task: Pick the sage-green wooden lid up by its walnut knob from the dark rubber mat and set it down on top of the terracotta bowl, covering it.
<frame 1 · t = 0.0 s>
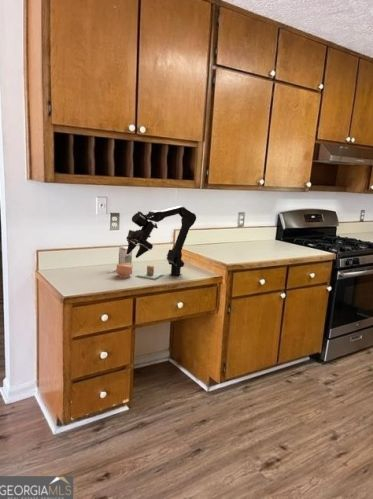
hand: (131, 255, 204), 15 cm above the table, tool tilted 35°, fingers open, 9 cm apart
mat: (150, 276, 220), on the table
syrup box: (124, 270, 231), on the table
bowl: (124, 277, 216), on the table
lid: (150, 276, 219), point 1 cm above the table, touching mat
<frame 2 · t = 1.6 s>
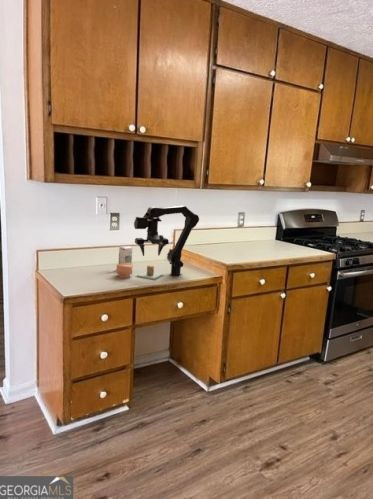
hand: (151, 255, 217), 13 cm above the table, tool pointing down, fingers open, 9 cm apart
nothing on the table moved.
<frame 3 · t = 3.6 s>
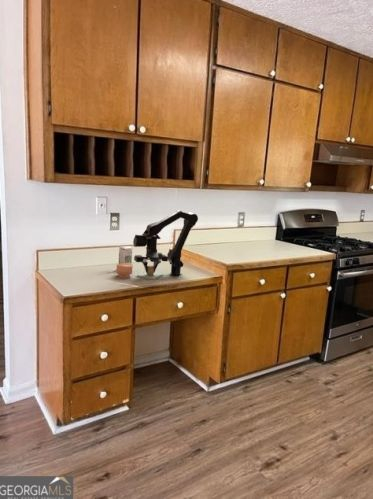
hand: (150, 272, 219), 3 cm above the table, tool pointing down, fingers closed on lid, 4 cm apart
lid: (150, 276, 219), point 1 cm above the table, touching gripper, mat
everything else where it was.
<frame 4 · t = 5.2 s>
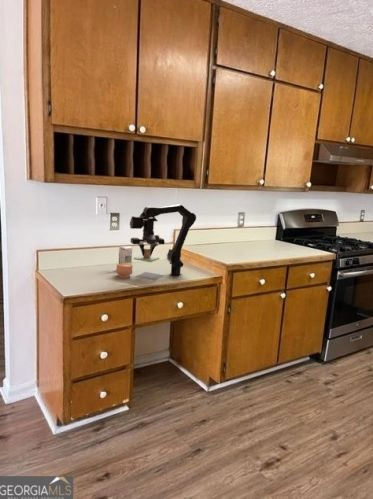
hand: (146, 255, 216), 13 cm above the table, tool pointing down, fingers closed on lid, 4 cm apart
lid: (146, 259, 217), point 11 cm above the table, touching gripper
everything else where it was.
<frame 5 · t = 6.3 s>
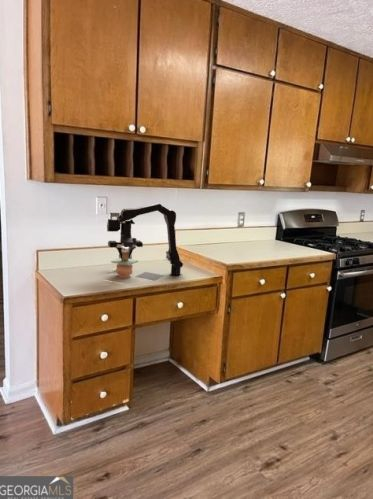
hand: (124, 258, 213), 11 cm above the table, tool pointing down, fingers closed on lid, 4 cm apart
lid: (124, 262, 214), point 9 cm above the table, touching gripper
everything else where it was.
when the fingers open (10 cm above the table, at t = 7.0 s): lid drops 1 cm, resting on bowl.
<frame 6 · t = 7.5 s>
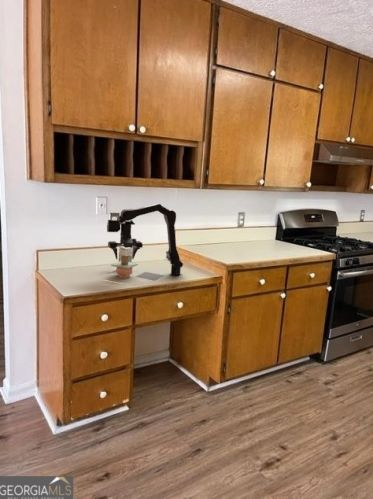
hand: (124, 259, 213), 10 cm above the table, tool pointing down, fingers open, 9 cm apart
lid: (124, 265, 214), point 7 cm above the table, touching bowl
everything else where it was.
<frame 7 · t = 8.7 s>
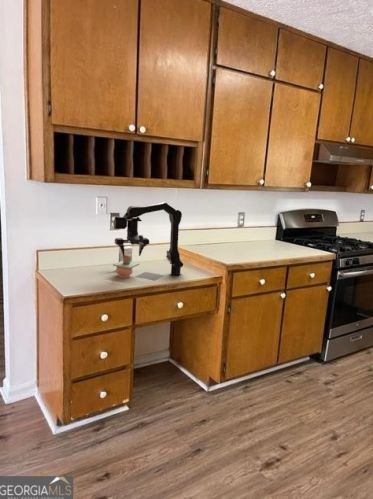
hand: (131, 256, 213), 13 cm above the table, tool pointing down, fingers open, 9 cm apart
lid: (126, 265, 214), point 7 cm above the table, touching gripper
everything else where it was.
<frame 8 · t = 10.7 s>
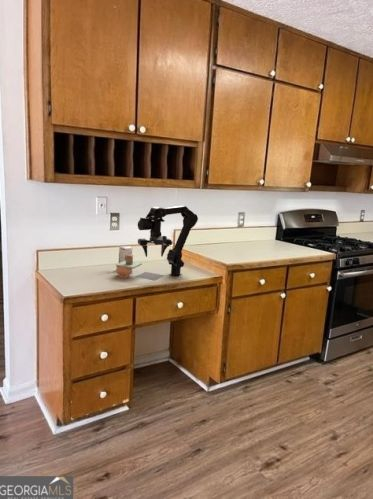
hand: (154, 256, 214), 13 cm above the table, tool pointing down, fingers open, 9 cm apart
lid: (129, 265, 215), point 7 cm above the table, touching bowl
everything else where it was.
at the end: lid 2.6 cm off-centre on the bowl, point 7.0 cm above the bowl's base; lid tilted 0°; the gripper is holding nothing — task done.
